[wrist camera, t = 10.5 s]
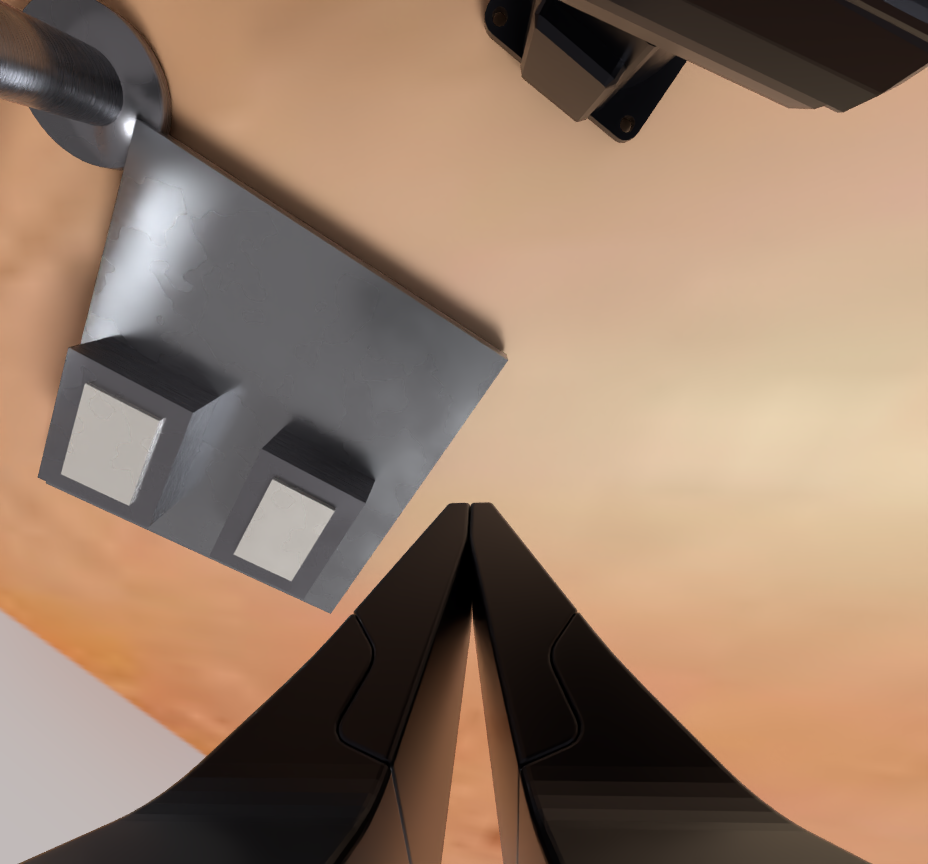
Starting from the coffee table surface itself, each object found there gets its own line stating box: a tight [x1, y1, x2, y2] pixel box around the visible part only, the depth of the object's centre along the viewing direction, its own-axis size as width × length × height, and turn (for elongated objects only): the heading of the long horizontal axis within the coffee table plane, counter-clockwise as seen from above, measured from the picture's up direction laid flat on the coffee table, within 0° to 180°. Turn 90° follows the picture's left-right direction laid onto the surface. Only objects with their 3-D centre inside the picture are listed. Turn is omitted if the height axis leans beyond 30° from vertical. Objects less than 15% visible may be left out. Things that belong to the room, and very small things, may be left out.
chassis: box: [38, 119, 508, 614], centre depth 19 cm, size 18×16×3 cm
